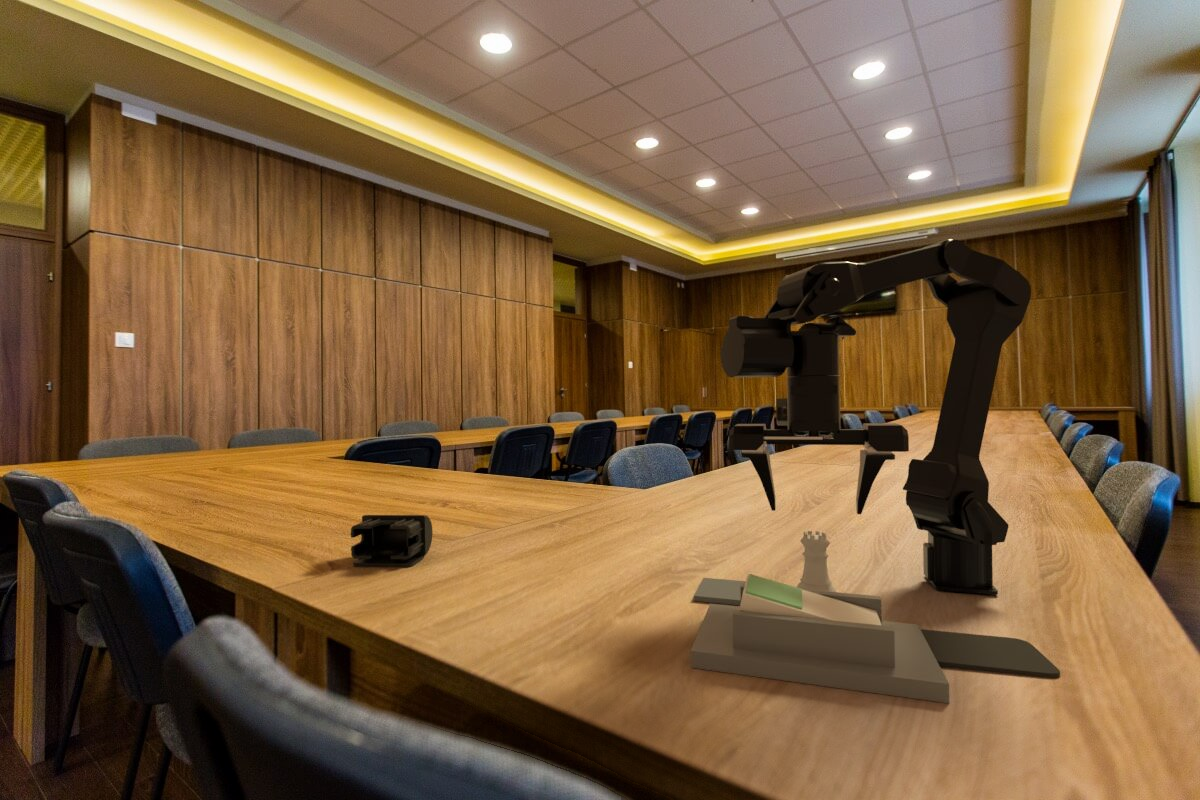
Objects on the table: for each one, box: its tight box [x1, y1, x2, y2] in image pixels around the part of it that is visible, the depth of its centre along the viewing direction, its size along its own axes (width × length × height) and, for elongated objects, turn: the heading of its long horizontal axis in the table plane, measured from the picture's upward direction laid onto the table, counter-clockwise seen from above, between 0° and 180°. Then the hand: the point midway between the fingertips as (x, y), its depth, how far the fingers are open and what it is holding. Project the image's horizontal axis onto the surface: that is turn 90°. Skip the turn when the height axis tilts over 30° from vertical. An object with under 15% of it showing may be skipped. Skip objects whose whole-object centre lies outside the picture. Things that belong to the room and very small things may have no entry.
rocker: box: [739, 573, 881, 625], centre depth 53 cm, size 12×6×2 cm, turn 71°
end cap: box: [350, 514, 433, 569], centre depth 86 cm, size 10×7×7 cm
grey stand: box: [690, 584, 950, 704], centre depth 53 cm, size 20×12×4 cm, turn 71°
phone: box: [920, 628, 1061, 679], centre depth 53 cm, size 7×1×15 cm
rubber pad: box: [693, 577, 746, 606], centre depth 69 cm, size 7×7×1 cm
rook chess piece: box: [796, 530, 837, 592], centre depth 66 cm, size 4×4×8 cm
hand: (815, 511), depth 66 cm, fingers open, 9 cm apart
